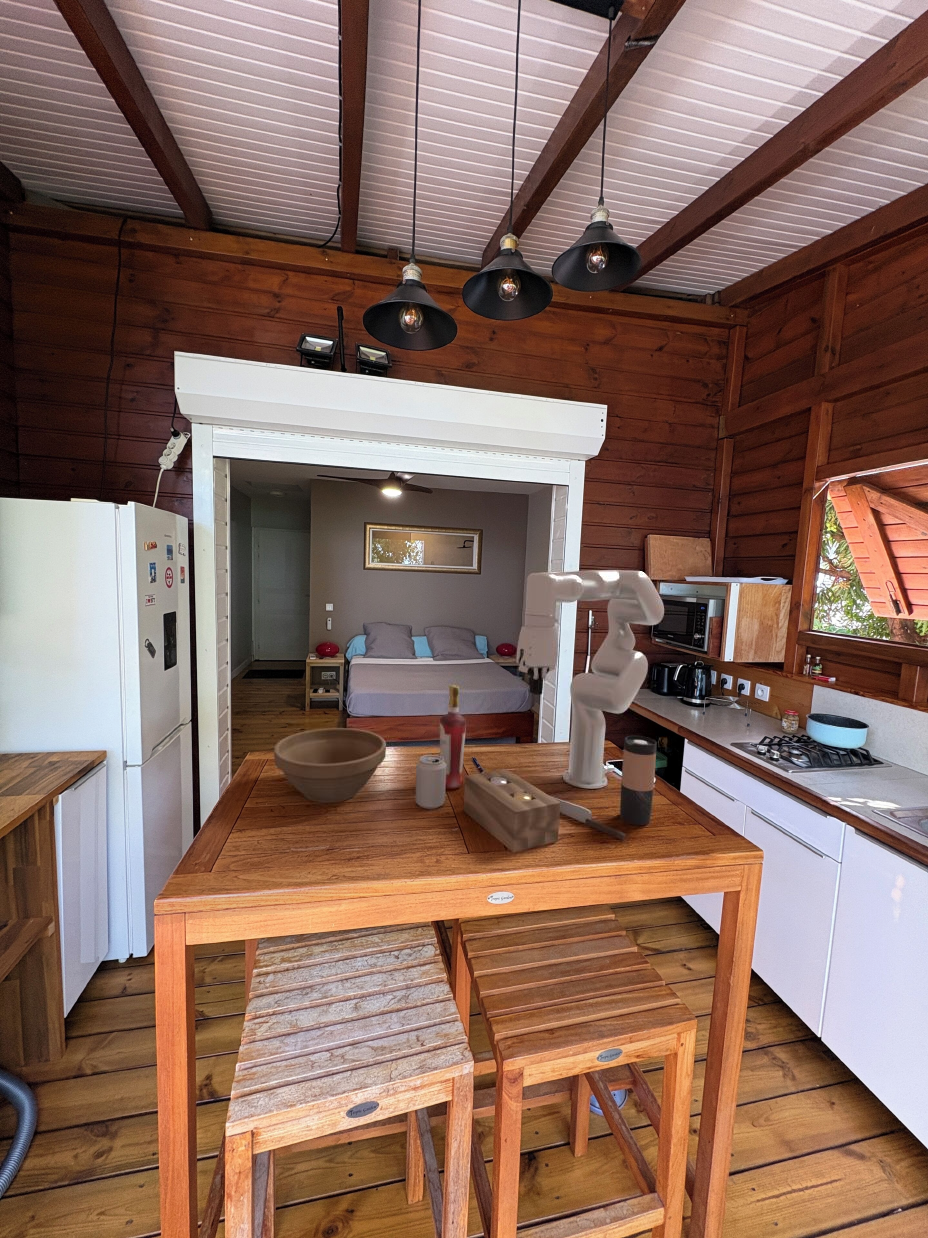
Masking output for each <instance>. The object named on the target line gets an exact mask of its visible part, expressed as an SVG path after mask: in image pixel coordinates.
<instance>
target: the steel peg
mask: <svg viewBox="0 0 928 1238" xmlns="http://www.w3.org/2000/svg"><path fill="white" fill-rule="evenodd" d="M491 783H493V784H494V785H496V786H497V785H503V784H507V780H506V779H505V778H502V777H493V778H491Z"/></svg>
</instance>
